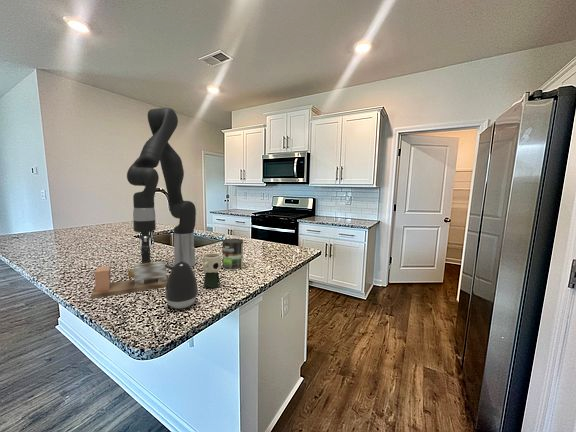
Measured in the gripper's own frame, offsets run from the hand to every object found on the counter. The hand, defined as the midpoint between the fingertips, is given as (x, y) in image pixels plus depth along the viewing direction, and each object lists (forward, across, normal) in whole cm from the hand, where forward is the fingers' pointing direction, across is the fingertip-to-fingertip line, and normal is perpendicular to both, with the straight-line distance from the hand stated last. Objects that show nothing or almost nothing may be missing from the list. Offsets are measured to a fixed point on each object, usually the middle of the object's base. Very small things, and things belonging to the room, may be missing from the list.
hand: (145, 259), depth 98 cm
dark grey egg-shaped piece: (+11, -24, -10) cm, 28 cm away
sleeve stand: (+11, 0, +4) cm, 12 cm away
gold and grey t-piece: (+6, 0, 0) cm, 6 cm away
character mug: (+11, -12, -23) cm, 28 cm away
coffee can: (+11, +7, -38) cm, 40 cm away
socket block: (+9, 0, +14) cm, 17 cm away
